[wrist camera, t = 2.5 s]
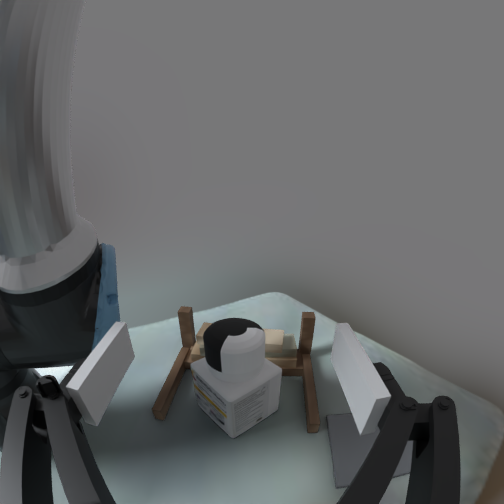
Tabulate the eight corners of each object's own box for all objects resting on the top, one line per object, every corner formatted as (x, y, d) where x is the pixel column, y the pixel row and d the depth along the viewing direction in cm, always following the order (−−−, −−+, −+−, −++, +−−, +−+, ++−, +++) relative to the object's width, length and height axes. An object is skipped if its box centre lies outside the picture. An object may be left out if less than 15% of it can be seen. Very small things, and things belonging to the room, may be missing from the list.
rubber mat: (336, 488, 18) (337, 486, 18) (326, 417, 29) (326, 415, 29) (424, 468, 17) (426, 466, 17) (401, 408, 28) (402, 405, 28)
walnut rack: (153, 418, 28) (137, 375, 26) (186, 346, 44) (181, 306, 42) (319, 432, 26) (332, 390, 24) (308, 352, 43) (313, 312, 40)
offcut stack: (191, 362, 38) (187, 338, 36) (199, 343, 43) (196, 320, 41) (295, 369, 37) (298, 345, 35) (294, 348, 42) (296, 325, 40)
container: (196, 404, 31) (183, 325, 28) (241, 381, 36) (239, 304, 32) (232, 440, 26) (226, 362, 22) (279, 409, 31) (287, 330, 27)
